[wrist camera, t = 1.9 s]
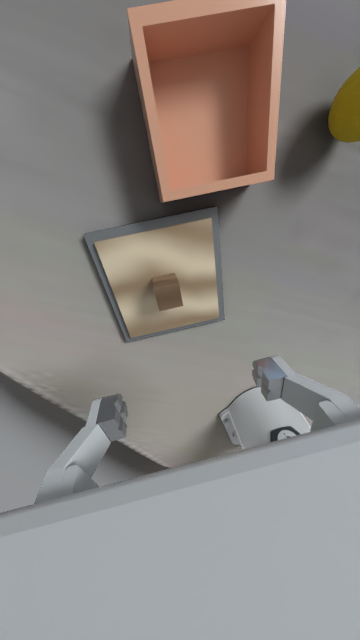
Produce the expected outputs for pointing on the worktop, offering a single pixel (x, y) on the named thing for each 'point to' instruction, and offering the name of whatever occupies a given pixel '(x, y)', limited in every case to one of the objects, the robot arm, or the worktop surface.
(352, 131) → the lemon
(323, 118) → the worktop surface
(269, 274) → the worktop surface
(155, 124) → the salmon open box
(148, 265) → the lid
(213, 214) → the mat
